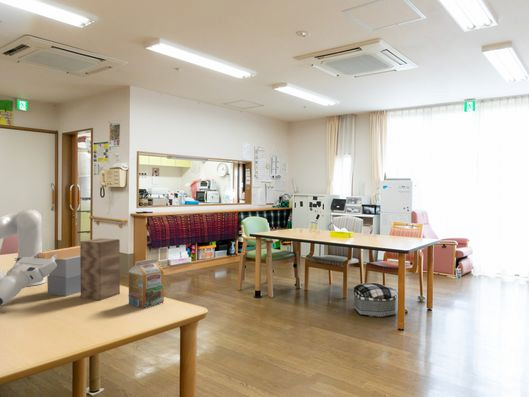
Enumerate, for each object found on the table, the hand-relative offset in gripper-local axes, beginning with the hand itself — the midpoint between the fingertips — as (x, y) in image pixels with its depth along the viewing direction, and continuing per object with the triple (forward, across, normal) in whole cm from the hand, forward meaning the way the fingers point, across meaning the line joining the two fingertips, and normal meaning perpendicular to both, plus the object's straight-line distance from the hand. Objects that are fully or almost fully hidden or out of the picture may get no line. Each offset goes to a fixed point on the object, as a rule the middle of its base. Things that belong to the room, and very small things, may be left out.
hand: (48, 254), depth 184 cm
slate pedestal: (-1, 0, -22) cm, 22 cm away
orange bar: (+6, 0, -7) cm, 9 cm away
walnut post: (0, +20, -23) cm, 30 cm away
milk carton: (-2, +48, -22) cm, 53 cm away
